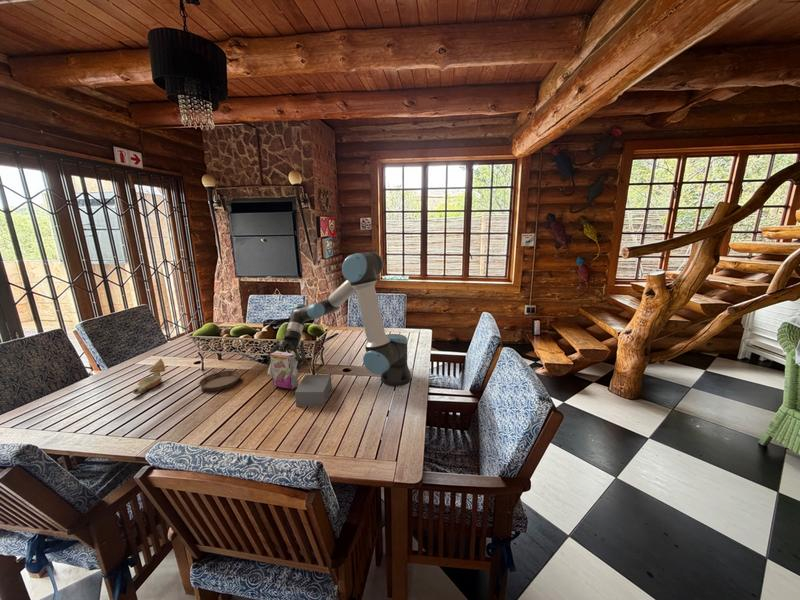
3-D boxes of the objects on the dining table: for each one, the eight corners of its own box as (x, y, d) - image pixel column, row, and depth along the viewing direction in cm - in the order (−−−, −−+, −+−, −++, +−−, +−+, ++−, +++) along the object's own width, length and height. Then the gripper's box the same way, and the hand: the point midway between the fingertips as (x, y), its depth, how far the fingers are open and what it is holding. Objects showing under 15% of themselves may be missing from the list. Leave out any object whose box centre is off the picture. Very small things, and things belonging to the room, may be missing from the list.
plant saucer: (191, 387, 153) (190, 382, 152) (226, 373, 168) (225, 367, 167) (214, 396, 145) (213, 390, 144) (248, 380, 160) (247, 374, 159)
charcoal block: (331, 388, 152) (331, 374, 150) (324, 406, 136) (323, 391, 134) (306, 388, 152) (305, 374, 150) (296, 406, 136) (294, 392, 134)
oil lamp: (173, 376, 164) (169, 358, 162) (145, 397, 144) (140, 377, 141) (155, 377, 164) (151, 359, 161) (124, 398, 143) (119, 378, 141)
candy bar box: (272, 386, 151) (268, 354, 147) (279, 381, 156) (276, 350, 152) (292, 390, 147) (288, 357, 144) (298, 385, 152) (295, 353, 148)
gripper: (319, 336, 160) (309, 378, 149) (274, 335, 164) (261, 376, 152) (314, 330, 154) (303, 373, 143) (267, 328, 157) (253, 371, 146)
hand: (281, 375), depth 147 cm, fingers closed on candy bar box, 12 cm apart
